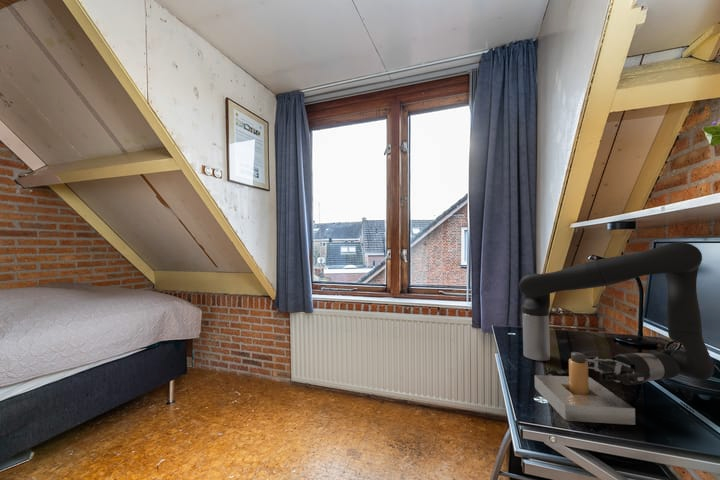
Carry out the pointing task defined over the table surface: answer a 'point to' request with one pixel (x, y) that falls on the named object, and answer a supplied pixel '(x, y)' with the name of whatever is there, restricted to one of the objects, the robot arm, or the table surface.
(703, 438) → the table surface
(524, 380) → the table surface
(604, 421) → the grey square-holed plate
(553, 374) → the electric trimmer
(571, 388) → the plug
